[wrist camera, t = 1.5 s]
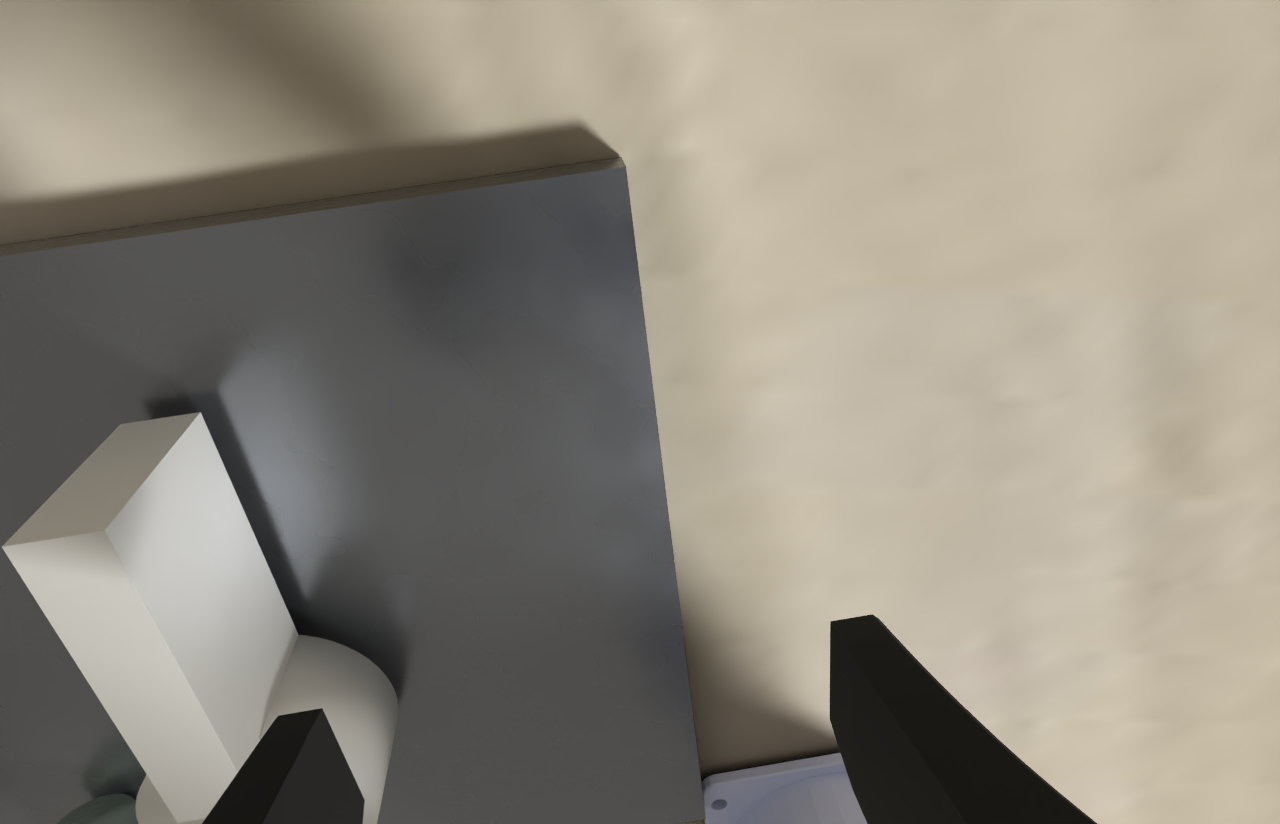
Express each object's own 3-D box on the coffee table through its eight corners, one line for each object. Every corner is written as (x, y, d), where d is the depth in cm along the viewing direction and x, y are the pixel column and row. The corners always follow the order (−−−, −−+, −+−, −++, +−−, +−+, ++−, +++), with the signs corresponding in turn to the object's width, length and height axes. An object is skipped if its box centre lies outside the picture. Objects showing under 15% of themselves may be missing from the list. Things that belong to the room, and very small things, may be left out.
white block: (419, 757, 21) (395, 907, 18) (233, 788, 21) (171, 947, 18) (284, 399, 16) (213, 513, 13) (34, 437, 16) (-109, 563, 12)
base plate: (700, 790, 26) (722, 903, 22) (72, 899, 25) (4, 1031, 22) (621, 156, 16) (640, 198, 13) (-404, 303, 15) (-651, 385, 12)
